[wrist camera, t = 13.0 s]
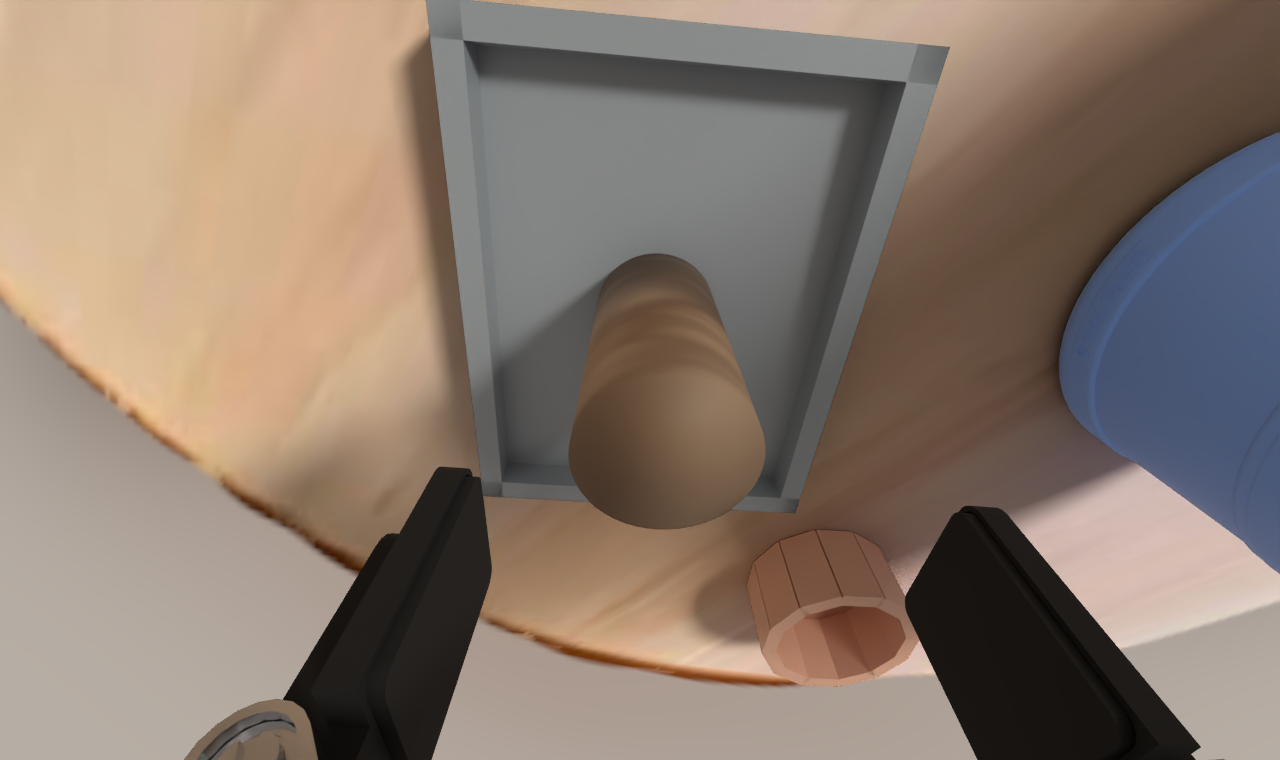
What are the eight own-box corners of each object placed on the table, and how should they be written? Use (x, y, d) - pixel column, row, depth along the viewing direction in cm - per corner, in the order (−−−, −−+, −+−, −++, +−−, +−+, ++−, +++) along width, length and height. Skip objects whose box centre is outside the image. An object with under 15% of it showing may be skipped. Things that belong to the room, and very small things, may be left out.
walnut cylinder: (721, 257, 20) (785, 381, 11) (704, 365, 22) (745, 533, 14) (599, 248, 20) (568, 367, 11) (596, 357, 22) (568, 524, 13)
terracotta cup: (903, 534, 29) (943, 600, 25) (859, 620, 34) (888, 688, 30) (764, 526, 29) (783, 593, 25) (738, 614, 33) (751, 683, 29)
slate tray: (910, 53, 17) (949, 46, 15) (782, 480, 27) (795, 513, 25) (453, 9, 16) (425, -5, 14) (495, 463, 27) (482, 496, 24)
